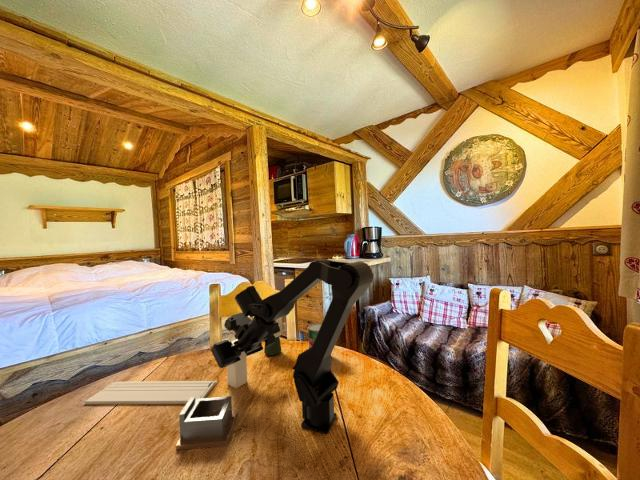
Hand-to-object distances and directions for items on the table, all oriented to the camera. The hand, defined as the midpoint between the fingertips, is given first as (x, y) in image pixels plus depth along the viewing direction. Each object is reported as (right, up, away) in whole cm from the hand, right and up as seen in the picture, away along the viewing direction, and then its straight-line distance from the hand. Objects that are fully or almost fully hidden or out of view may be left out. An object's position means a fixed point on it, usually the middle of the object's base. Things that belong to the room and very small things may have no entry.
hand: (233, 359), depth 80 cm
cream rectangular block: (+1, -7, -1) cm, 7 cm away
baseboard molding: (-20, -8, -4) cm, 22 cm away
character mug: (+8, -6, +19) cm, 22 cm away
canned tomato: (+26, -6, +14) cm, 30 cm away
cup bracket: (+1, -7, -20) cm, 21 cm away
